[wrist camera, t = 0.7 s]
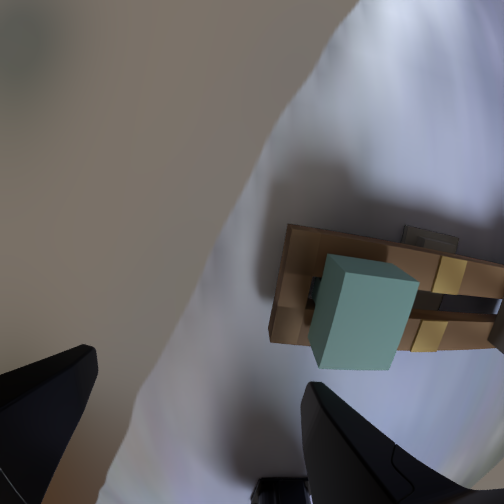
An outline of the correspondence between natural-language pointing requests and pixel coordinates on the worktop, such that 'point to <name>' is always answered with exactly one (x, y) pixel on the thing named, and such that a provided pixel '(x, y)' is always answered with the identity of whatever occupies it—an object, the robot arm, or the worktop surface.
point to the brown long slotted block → (410, 261)
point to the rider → (359, 313)
